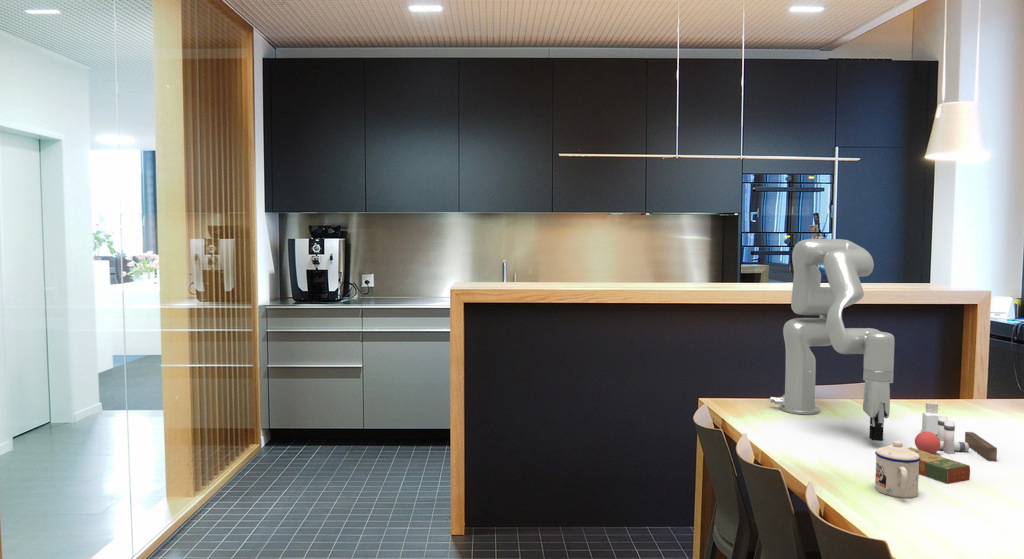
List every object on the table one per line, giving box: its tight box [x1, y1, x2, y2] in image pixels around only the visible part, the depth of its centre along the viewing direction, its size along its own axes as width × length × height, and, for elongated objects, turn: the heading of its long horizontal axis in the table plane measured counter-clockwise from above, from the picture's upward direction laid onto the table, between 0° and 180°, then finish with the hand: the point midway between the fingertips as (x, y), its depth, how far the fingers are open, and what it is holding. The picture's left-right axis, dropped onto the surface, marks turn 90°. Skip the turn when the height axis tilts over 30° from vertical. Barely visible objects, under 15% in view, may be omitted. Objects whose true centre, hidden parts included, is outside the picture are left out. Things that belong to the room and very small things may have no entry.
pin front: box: [938, 441, 970, 452], centre depth 192 cm, size 2×2×8 cm
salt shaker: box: [921, 401, 941, 435], centre depth 209 cm, size 4×4×10 cm
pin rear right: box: [942, 420, 956, 455], centre depth 190 cm, size 2×2×8 cm
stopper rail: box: [964, 431, 998, 462], centre depth 191 cm, size 2×16×4 cm, turn 166°
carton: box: [907, 447, 971, 485], centre depth 174 cm, size 8×16×4 cm, turn 22°
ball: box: [914, 431, 940, 454], centre depth 189 cm, size 6×6×6 cm
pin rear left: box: [937, 415, 949, 441], centre depth 195 cm, size 2×2×8 cm
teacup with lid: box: [874, 440, 920, 499], centre depth 159 cm, size 12×9×12 cm
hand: (876, 439), depth 197 cm, fingers closed
